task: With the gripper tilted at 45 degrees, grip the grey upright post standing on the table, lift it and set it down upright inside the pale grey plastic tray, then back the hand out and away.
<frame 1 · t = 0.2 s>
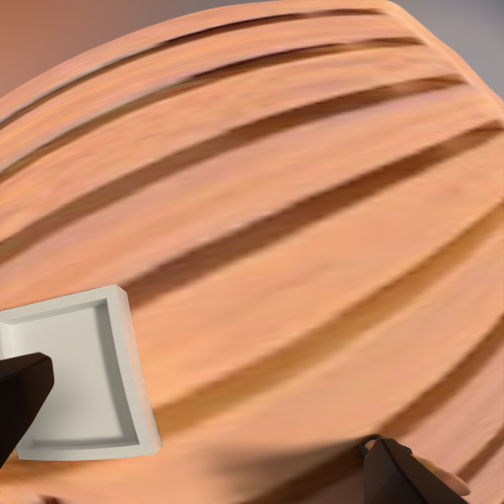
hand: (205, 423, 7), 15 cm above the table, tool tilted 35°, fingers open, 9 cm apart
tray: (73, 380, 20), on the table
ammunition clip: (388, 487, 19), on the table
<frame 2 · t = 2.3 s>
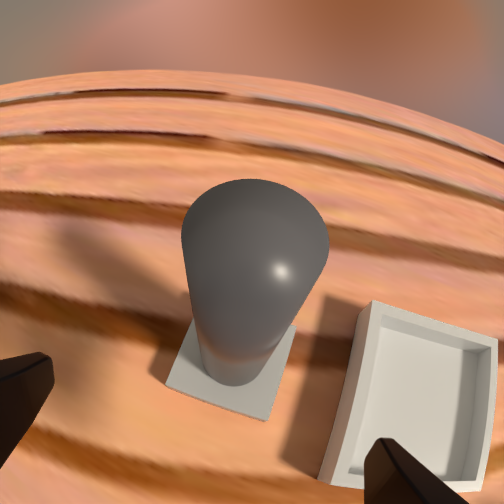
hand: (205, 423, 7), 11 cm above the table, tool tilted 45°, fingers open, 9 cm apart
grey upright post: (232, 361, 19), on the table
tray: (415, 409, 18), on the table
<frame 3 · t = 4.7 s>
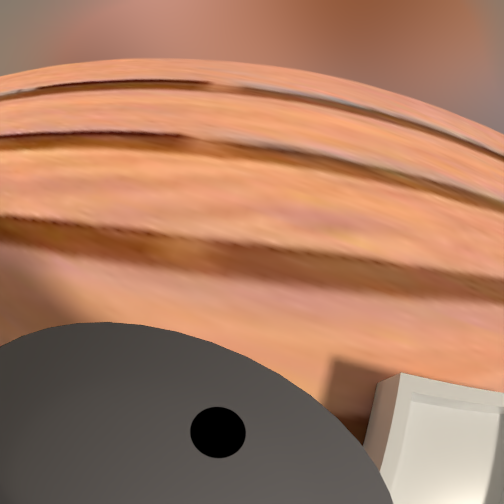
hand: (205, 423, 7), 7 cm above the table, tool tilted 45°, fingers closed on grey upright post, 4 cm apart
grey upright post: (204, 455, 12), on the table, touching gripper
tray: (440, 493, 11), on the table
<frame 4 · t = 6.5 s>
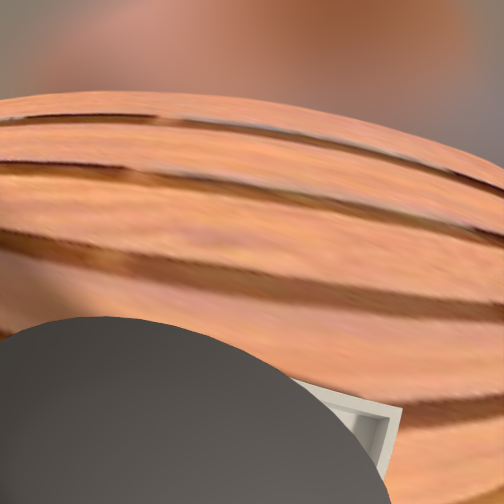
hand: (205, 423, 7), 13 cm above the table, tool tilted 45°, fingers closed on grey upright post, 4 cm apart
grey upright post: (203, 454, 12), point 6 cm above the table, touching gripper
tray: (286, 471, 17), on the table
when the fingers open (9 cm above the table, at t = 8.5 s): grey upright post drops 1 cm, resting on tray.
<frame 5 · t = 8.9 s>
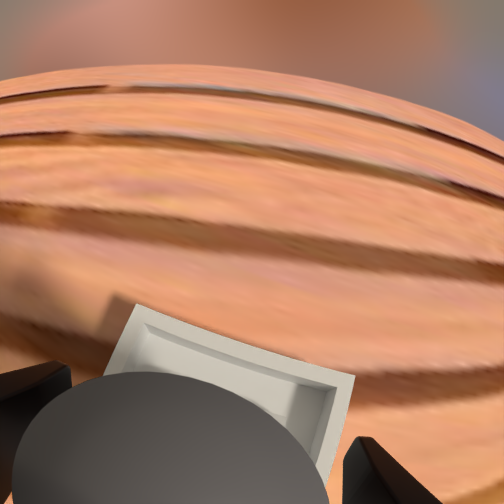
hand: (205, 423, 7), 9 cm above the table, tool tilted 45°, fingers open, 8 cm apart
grey upright post: (205, 453, 14), point 1 cm above the table, touching tray
tray: (206, 452, 14), on the table
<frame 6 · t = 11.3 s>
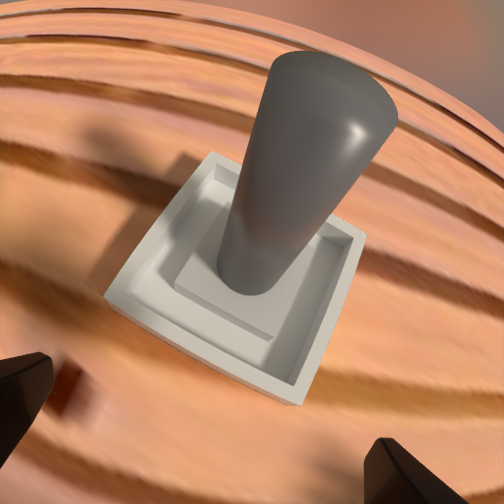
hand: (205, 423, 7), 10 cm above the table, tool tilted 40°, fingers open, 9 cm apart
grey upright post: (244, 274, 19), point 1 cm above the table, touching tray
tray: (242, 278, 20), on the table
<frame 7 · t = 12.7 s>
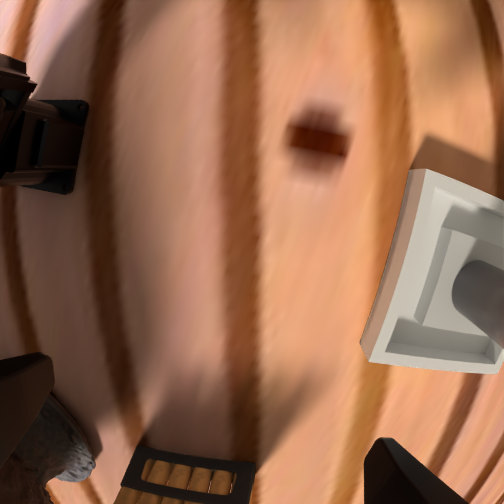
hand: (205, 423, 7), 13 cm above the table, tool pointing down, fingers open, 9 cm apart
decorative urn: (41, 425, 25), on the table
grey upright post: (462, 281, 18), point 1 cm above the table, touching tray
tray: (457, 278, 19), on the table
ammunition clip: (195, 460, 24), on the table
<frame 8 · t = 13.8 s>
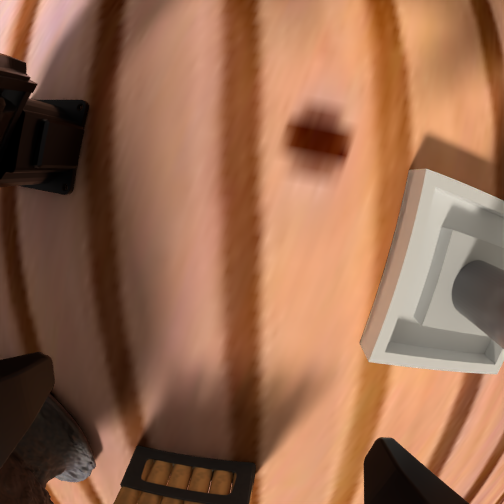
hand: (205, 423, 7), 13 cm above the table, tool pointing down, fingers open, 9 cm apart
decorative urn: (41, 425, 25), on the table
grey upright post: (462, 281, 18), point 1 cm above the table, touching tray
tray: (457, 278, 19), on the table
ammunition clip: (195, 461, 24), on the table
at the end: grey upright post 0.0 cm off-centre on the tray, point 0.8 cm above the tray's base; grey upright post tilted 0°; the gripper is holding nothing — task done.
